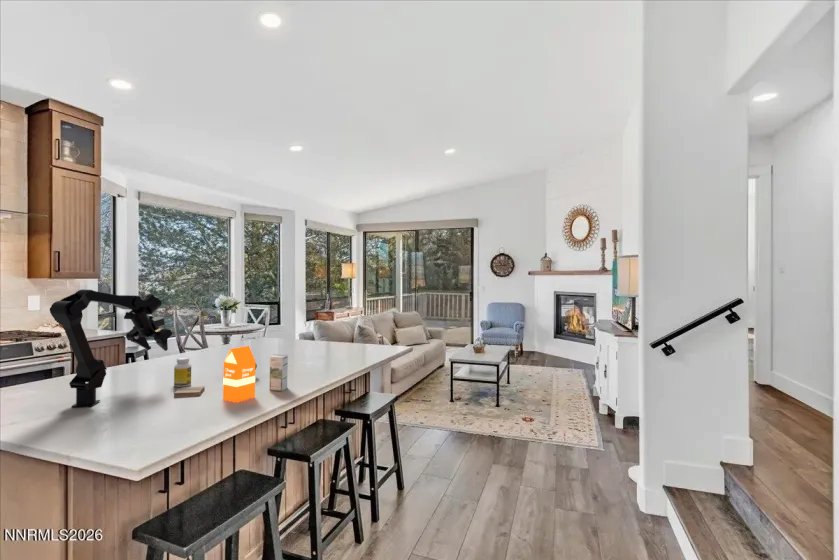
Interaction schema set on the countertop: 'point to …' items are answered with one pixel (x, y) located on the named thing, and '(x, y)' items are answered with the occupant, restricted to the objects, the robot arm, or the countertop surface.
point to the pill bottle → (182, 373)
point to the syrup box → (278, 372)
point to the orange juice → (239, 375)
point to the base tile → (189, 391)
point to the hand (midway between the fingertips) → (157, 349)
